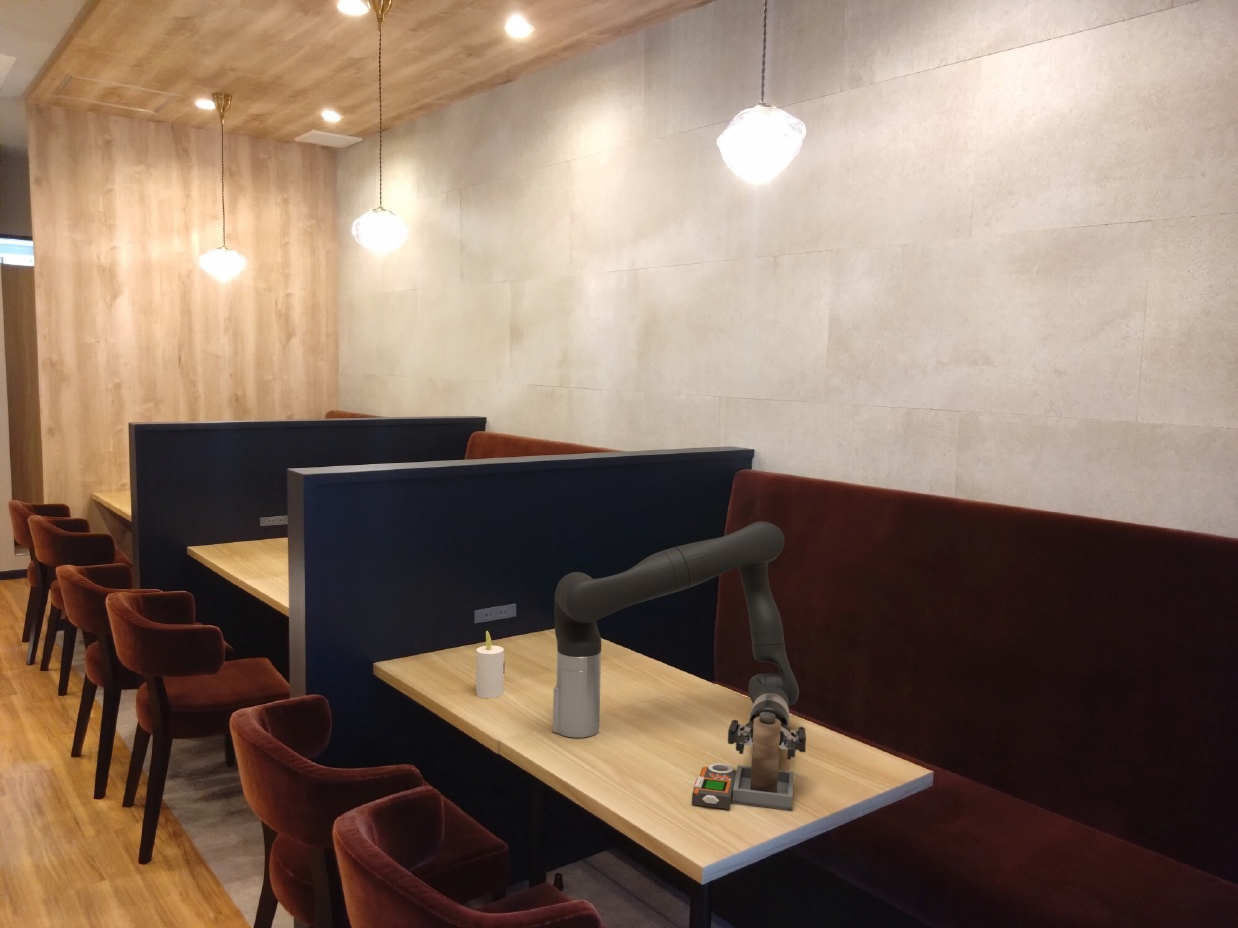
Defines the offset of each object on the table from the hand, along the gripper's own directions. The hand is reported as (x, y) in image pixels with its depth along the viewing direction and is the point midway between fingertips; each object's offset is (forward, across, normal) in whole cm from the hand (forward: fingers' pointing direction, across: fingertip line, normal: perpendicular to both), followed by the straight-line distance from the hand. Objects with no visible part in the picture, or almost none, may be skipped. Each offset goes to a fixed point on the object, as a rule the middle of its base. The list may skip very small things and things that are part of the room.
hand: (765, 751), depth 162 cm
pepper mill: (-2, 0, +8) cm, 8 cm away
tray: (-2, 0, +9) cm, 9 cm away
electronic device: (-1, -9, +9) cm, 13 cm away
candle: (-36, -65, +9) cm, 75 cm away
